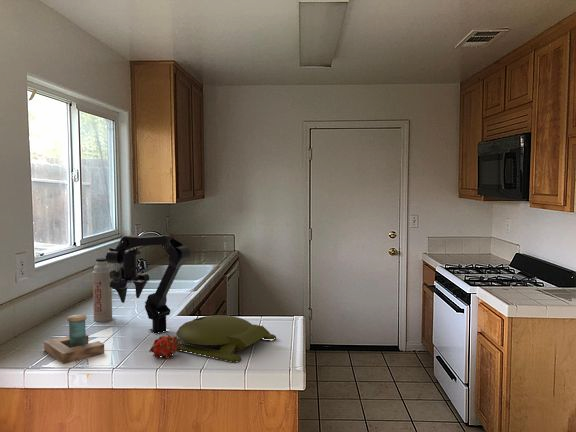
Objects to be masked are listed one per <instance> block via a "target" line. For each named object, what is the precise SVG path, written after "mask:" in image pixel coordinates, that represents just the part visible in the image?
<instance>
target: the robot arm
mask: <svg viewBox="0 0 576 432" xmlns="http://www.w3.org/2000/svg"><path fill="white" fill-rule="evenodd" d="M159 245H161V246H163V248H164V251H165V253H167V255H168V258H167V259H168V265H167V268H166V269H165V271H164V274H163V276H162V277H161V280H160V282H159V284H158V286H157V288H156V290H155V292H153V293H150V294H148V296H147V298H146V300H145V301H144V309H145V311H146V314H147V318H148V319H150V320H151V322H152V327H151V328H150V329H149V331H150V330H151V331H152V332H151V331H150V332H151V333H153V332H154V333H158V332H163V331H166V328H167V316H169V315H170V314H171V311H172V310H171V309H170V308H169V307H168V305H167V300H168V299H167V295H168V294H169V293H168V292H170V289H171V287H172V284H173V282H174V281H175V278H176V276H177V274H178V272H179V271H180V269H181V267H182V266H183V265H184V264H185V263H186V262H187V261H188V260H189V258H190V256H191V251H190V248H189V247H188V246H186V245H184V244H183V243H182V242H181V241H179V240H178V239H176V238H175V237H173V236H172V235H171V234H164V235H152V236H151V235H150V236H142V235H138V234H130V235H124V236H122V237H121V238H120V239H119V242H118V245H117V246H116V247H109V248H108V251H107V253H106V255H105V258H106V261H107V264H117V265H118V264H119V265H122V266H121V267H120V268H119V270H118V271H116V269H115V270H111V271H110V278H111V282H110V287H111V288H112V290H115V291H116V292H117V294H118V296H119V299H120V302H121V303H122V304H124V303H125V302H126V297H127V292H128V287H127V286H128V284H131V283H133V284H134V285H135V286H134V287H135V297H136V298H137V299H139V298H140V296H141V295H142V292H143V290H144V288H145V287H146V284H147V283H148V281H150V276H149V274H148V273H142V272H141V273H140V272H139V273H138V270H139V269H140V266H138V262H137V256H138V255H141V254H142V252H141V251H140V250H139V249H138V248H139V247H143V246H146V247H147V246H159ZM132 249H133V250H132ZM154 333H153V334H154ZM163 333H164V332H163ZM158 334H159V333H158Z"/></svg>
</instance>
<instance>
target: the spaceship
mask: <svg viewBox="0 0 576 432" xmlns="http://www.w3.org/2000/svg"><path fill="white" fill-rule="evenodd" d="M176 337H177V339H179V340H180V341H181V342H182V343H180V348H179V350H182V351H187V352H192V353H196V354H201V355H206V356H210V357H214V358H218V359H222V360H221V361H223V360H227V361H226V362H228V361H232V362H231V363H233V362H234V363H237V362H236V361H239V360H240V361H242V356H241V354H238V353H234V352H240V351H242V350H245V349H246V348H247V347H250V346H251V345H253V344H254V343H256V342H258V341H261V340H260V339H262V338H264V339H274V338H276V339H277V336H276V334H273V333H270V331H268V329H266V328H265V327H264V326H263V325H258V324H252V323H251V322H250V321H248V320H246V319H244V318H240V317H237V316H233V315H225V314H224V315H223V314H213V315H205V316H201V317H197V318H193V319H192V320H189V321H186V322H184V323H183V324H181V326H180V327H179V328H178V329H177V331H176ZM183 342H185V343H183ZM187 343H188V344H187ZM192 344H193V345H192ZM194 344H195V345H194ZM200 345H201V346H200ZM218 345H220V349H212V348H208V347H202V346H218ZM218 359H217V360H218ZM240 361H239V362H240Z"/></svg>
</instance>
